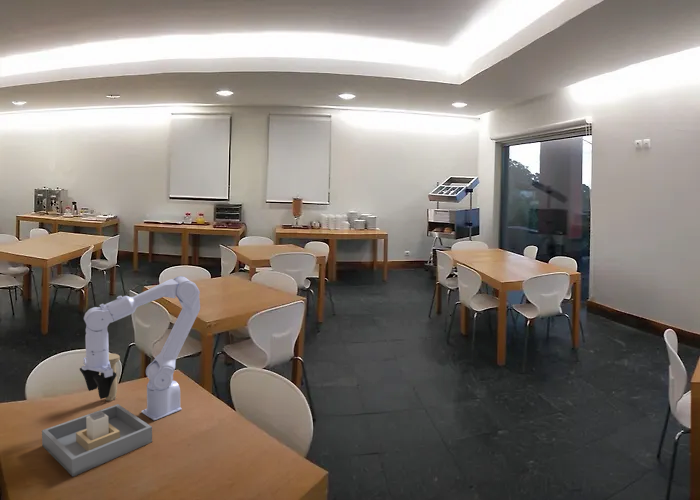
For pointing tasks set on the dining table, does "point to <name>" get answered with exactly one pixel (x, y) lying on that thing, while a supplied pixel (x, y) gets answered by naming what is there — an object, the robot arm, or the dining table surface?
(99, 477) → the dining table surface
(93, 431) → the plug
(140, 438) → the box
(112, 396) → the handle
